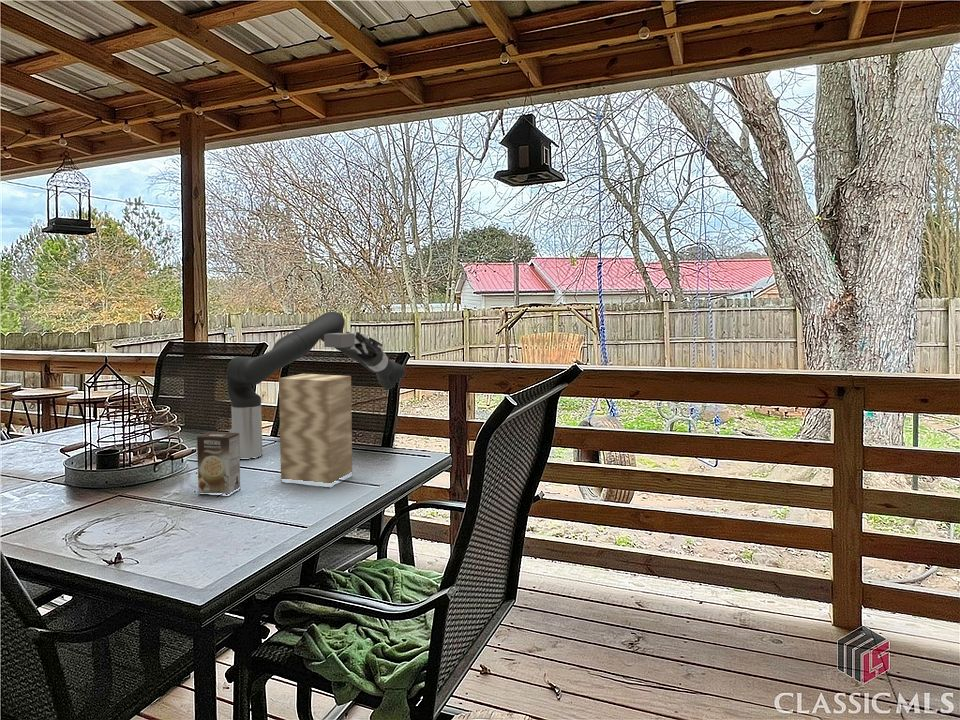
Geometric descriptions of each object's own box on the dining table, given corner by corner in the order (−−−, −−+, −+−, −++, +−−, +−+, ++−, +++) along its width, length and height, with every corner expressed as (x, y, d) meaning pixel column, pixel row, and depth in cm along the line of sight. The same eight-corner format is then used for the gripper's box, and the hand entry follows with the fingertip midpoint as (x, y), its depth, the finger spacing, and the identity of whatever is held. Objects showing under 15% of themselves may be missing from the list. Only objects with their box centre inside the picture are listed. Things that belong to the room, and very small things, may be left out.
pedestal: (281, 482, 173) (278, 378, 170) (305, 471, 184) (303, 373, 182) (330, 488, 168) (328, 380, 165) (352, 476, 180) (351, 376, 177)
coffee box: (197, 495, 161) (194, 436, 159) (210, 488, 167) (208, 431, 166) (230, 497, 160) (228, 437, 159) (241, 489, 166) (240, 432, 165)
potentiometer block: (324, 347, 186) (324, 334, 186) (354, 343, 204) (354, 331, 203) (341, 347, 184) (341, 334, 184) (370, 344, 202) (370, 332, 202)
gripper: (358, 346, 214) (335, 323, 199) (394, 348, 210) (373, 324, 195) (353, 366, 211) (329, 344, 196) (389, 367, 207) (368, 345, 192)
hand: (351, 334), depth 196 cm, fingers closed on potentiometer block, 3 cm apart
